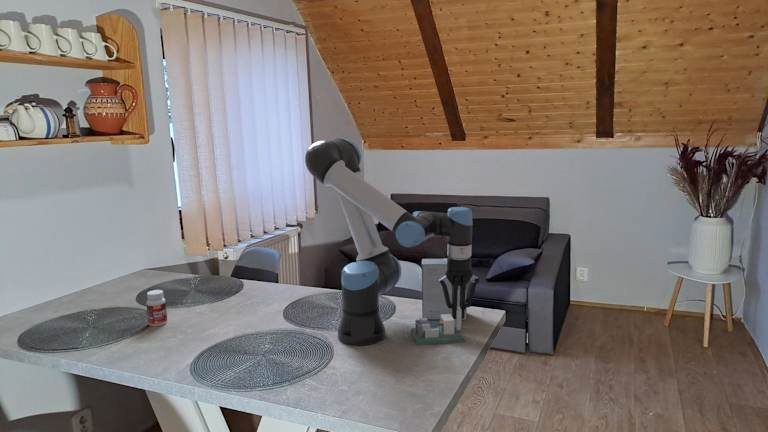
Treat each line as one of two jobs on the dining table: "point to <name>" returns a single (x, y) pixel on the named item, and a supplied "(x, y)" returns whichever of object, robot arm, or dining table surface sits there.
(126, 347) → the dining table surface
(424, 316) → the hard drive box
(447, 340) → the board
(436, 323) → the grey rectangular bar
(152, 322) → the pill bottle
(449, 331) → the white open-sided box
